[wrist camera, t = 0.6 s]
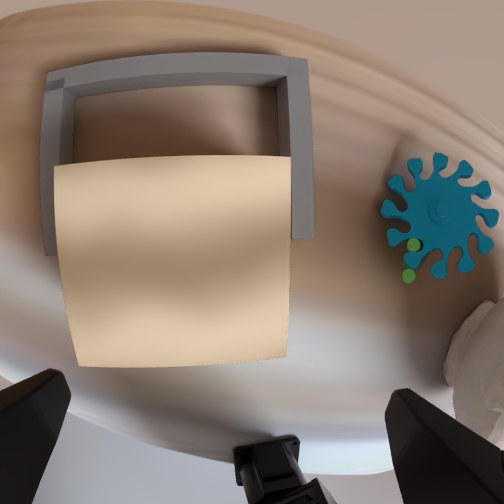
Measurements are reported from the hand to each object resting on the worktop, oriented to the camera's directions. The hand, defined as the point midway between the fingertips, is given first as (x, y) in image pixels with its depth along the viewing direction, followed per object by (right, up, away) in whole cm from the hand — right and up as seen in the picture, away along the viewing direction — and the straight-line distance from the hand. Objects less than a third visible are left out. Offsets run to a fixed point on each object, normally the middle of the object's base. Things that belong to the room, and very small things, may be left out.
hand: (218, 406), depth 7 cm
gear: (+14, +7, +17) cm, 23 cm away
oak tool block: (-4, +4, +14) cm, 15 cm away
